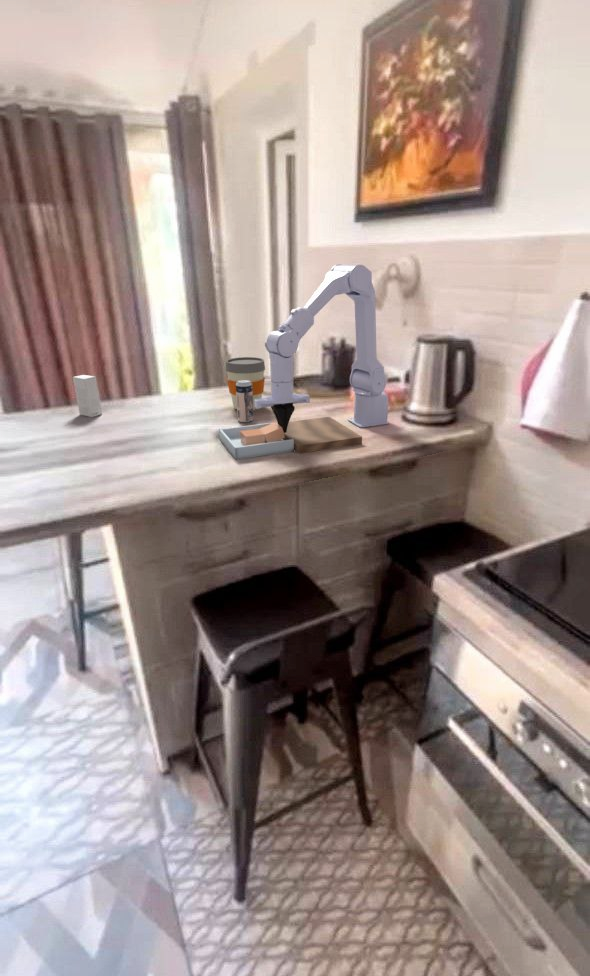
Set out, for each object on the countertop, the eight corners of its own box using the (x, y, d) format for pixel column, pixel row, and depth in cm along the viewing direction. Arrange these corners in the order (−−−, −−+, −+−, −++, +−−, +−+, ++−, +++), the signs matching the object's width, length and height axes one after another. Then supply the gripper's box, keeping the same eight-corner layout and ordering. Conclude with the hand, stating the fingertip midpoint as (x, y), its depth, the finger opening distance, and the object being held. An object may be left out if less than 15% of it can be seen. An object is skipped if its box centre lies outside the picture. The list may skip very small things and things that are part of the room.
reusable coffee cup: (265, 412, 163) (263, 364, 157) (225, 412, 163) (222, 364, 157) (267, 401, 174) (266, 356, 168) (230, 402, 174) (227, 357, 168)
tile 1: (258, 439, 137) (258, 428, 135) (264, 445, 132) (264, 434, 131) (240, 442, 135) (240, 431, 134) (246, 447, 131) (245, 436, 129)
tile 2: (278, 431, 138) (275, 421, 136) (285, 437, 134) (282, 427, 132) (261, 439, 137) (258, 429, 135) (267, 444, 133) (264, 434, 131)
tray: (272, 432, 144) (272, 422, 142) (293, 451, 130) (293, 439, 129) (219, 439, 138) (218, 429, 137) (235, 459, 125) (235, 448, 124)
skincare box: (102, 414, 162) (96, 376, 157) (91, 417, 159) (84, 379, 154) (90, 411, 165) (83, 374, 160) (79, 414, 162) (71, 376, 157)
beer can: (251, 423, 152) (249, 383, 147) (235, 422, 152) (233, 382, 148) (255, 419, 156) (253, 379, 151) (240, 418, 157) (238, 379, 152)
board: (329, 423, 151) (329, 416, 150) (361, 444, 134) (362, 436, 134) (271, 430, 145) (271, 423, 145) (298, 453, 128) (297, 446, 128)
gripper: (302, 374, 136) (302, 424, 141) (249, 379, 131) (252, 430, 137) (313, 380, 130) (312, 431, 135) (258, 385, 125) (260, 438, 131)
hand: (283, 431), depth 136 cm, fingers closed
